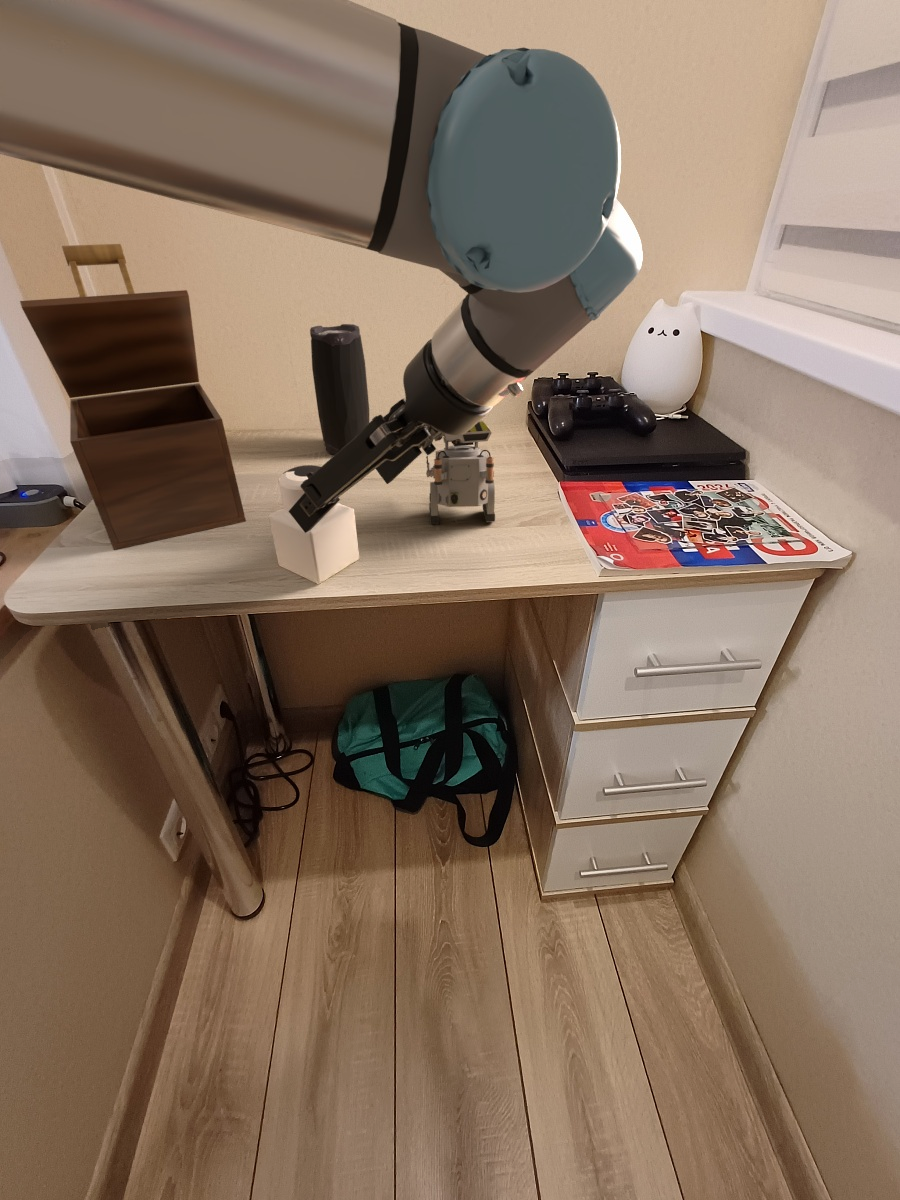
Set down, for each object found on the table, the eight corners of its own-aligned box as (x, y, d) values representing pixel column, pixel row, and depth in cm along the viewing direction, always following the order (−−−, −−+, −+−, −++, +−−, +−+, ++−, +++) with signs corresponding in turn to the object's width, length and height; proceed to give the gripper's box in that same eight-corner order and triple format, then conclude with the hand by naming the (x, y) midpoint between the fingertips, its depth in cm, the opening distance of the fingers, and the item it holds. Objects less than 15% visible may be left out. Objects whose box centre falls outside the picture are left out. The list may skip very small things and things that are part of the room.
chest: (246, 521, 79) (222, 418, 71) (113, 550, 73) (70, 441, 64) (222, 474, 92) (199, 382, 83) (107, 496, 85) (70, 399, 77)
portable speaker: (366, 436, 106) (356, 320, 94) (376, 455, 98) (367, 332, 87) (319, 441, 103) (304, 323, 92) (326, 461, 96) (310, 336, 85)
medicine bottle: (320, 542, 75) (307, 454, 68) (360, 559, 71) (351, 469, 64) (277, 566, 70) (258, 474, 63) (318, 585, 67) (303, 491, 60)
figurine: (486, 492, 87) (490, 392, 78) (496, 529, 78) (502, 420, 69) (426, 494, 86) (424, 393, 77) (429, 531, 77) (426, 421, 68)
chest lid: (189, 295, 66) (166, 228, 67) (21, 307, 60) (-2, 232, 60) (199, 382, 83) (181, 327, 84) (69, 398, 77) (51, 339, 77)
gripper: (403, 459, 39) (281, 577, 54) (552, 375, 56) (428, 482, 71) (334, 367, 38) (231, 512, 53) (507, 309, 55) (391, 432, 70)
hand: (343, 495), depth 62 cm, fingers open, 13 cm apart
